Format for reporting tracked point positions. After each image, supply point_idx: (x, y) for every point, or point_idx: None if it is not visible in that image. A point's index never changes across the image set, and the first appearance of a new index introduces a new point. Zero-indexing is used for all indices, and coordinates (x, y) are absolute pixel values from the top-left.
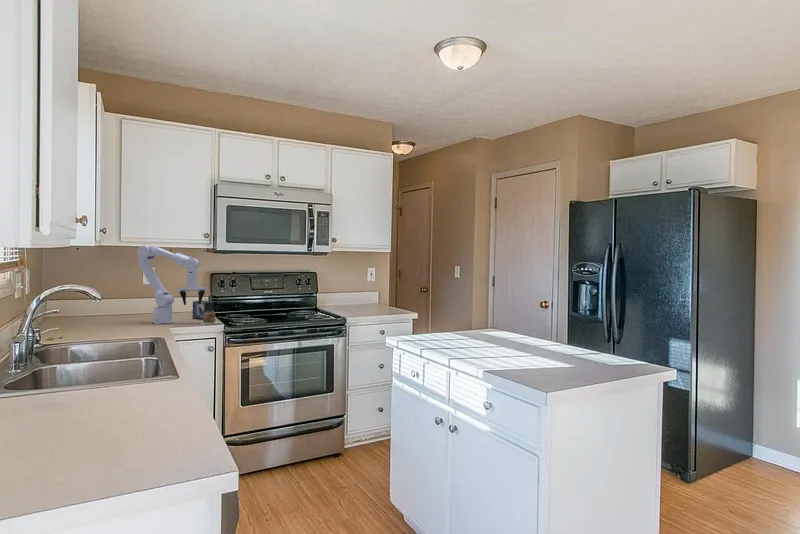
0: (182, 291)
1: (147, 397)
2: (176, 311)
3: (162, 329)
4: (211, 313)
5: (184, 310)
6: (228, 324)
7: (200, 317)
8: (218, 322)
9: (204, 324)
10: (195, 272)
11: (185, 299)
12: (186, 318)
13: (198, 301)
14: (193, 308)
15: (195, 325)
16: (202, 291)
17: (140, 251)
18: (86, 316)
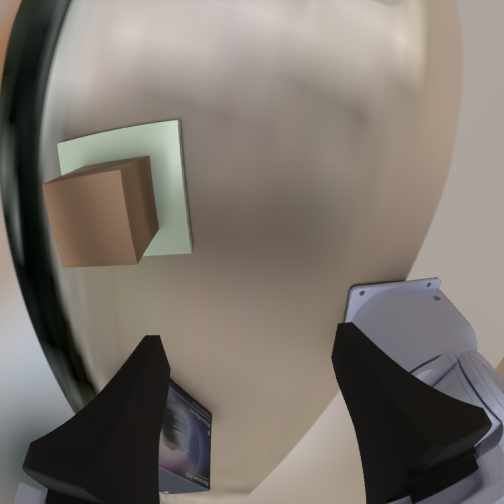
0: (454, 476)
1: None
2: (242, 497)
3: (455, 40)
4: (70, 186)
5: (220, 501)
6: (23, 118)
7: (173, 390)
8: (63, 157)
9: (165, 121)
10: None
11: (377, 368)
12: (238, 421)
13: (177, 483)
14: (206, 454)
15: (238, 114)
16: (75, 500)
17: None
18: None
